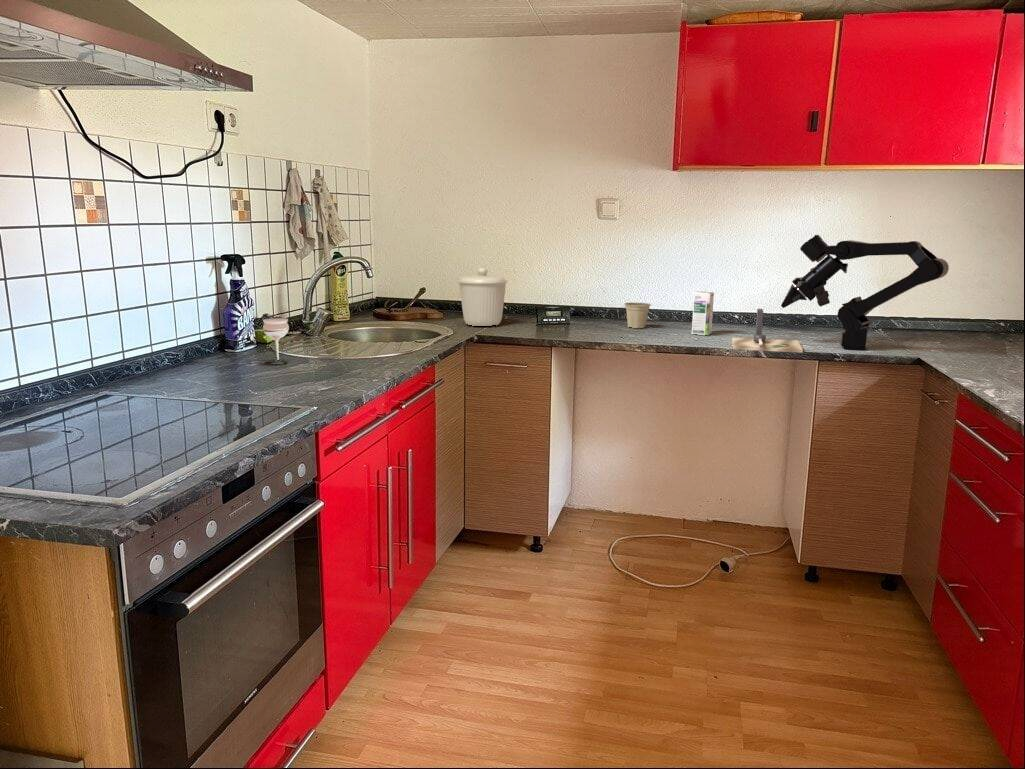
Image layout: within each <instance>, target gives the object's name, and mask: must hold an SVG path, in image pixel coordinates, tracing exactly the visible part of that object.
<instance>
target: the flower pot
mask: <svg viewBox="0 0 1025 769" xmlns="http://www.w3.org/2000/svg"><path fill="white" fill-rule="evenodd" d="M650 306H652V304H651V303H647V302H624V307H625V310H626V320H627V321H626V322H627V327H628V328H629V327H632V328H631V329H634V328H637V329H640V328H643V329H645V328H646V324H647V319H648V314H649V313H648V312H649V310H650ZM644 327H645V328H644Z"/></svg>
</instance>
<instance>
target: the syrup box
mask: <svg viewBox="0 0 1025 769" xmlns="http://www.w3.org/2000/svg"><path fill="white" fill-rule="evenodd" d="M714 300H715V291H695V292H693V300H692V301H693V302H692V321H691V322H692V323H691V335H692V334H697V336H705V335H708V336H709V334H710V335H711V334H712V328H713V327H712V326H713V316H714V314H713V313H714V312H713V311H714Z"/></svg>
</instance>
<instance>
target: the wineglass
mask: <svg viewBox="0 0 1025 769" xmlns="http://www.w3.org/2000/svg"><path fill="white" fill-rule="evenodd" d="M262 321H263V326H262V330H263V333H264V334H265V335H267V337H268V338H271V339H273V341H275V351H276V361H277V360H280V355H279V354H280V353H279V352H280V351H279V349H280V348H279V345H280V344H279V341H280V340H281V339H282V338H283V337H285V336H286V335H287V334H288V333H289V329H290V325H289V323H288V321H289V319H288V318H284V317H283V318H282V317H281V318H280V317H274V318H273V317H272V318H265V319H262Z"/></svg>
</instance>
